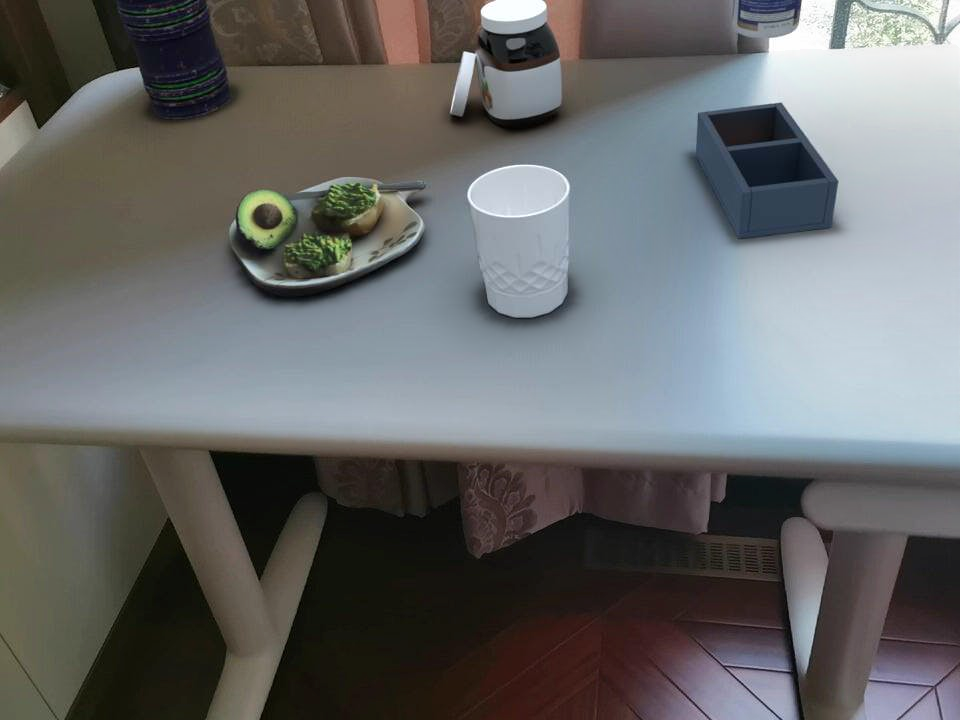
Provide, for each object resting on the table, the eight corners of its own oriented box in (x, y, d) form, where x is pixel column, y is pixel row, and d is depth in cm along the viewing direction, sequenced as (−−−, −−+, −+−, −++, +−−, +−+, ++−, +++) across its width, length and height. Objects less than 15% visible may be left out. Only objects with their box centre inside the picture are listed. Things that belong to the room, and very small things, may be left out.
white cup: (525, 257, 84) (516, 154, 78) (593, 289, 80) (591, 183, 73) (460, 299, 80) (446, 195, 74) (528, 336, 76) (519, 228, 69)
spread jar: (573, 121, 103) (569, 14, 95) (476, 149, 100) (464, 41, 93) (526, 82, 112) (519, -19, 104) (436, 107, 109) (422, 4, 102)
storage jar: (234, 110, 114) (189, -47, 102) (151, 126, 113) (96, -30, 101) (231, 78, 121) (190, -71, 110) (153, 92, 120) (103, -57, 109)
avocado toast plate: (394, 166, 99) (387, 125, 96) (473, 242, 87) (468, 198, 84) (214, 227, 93) (201, 185, 90) (272, 319, 81) (258, 274, 78)
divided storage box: (776, 145, 95) (781, 101, 92) (831, 227, 83) (839, 180, 80) (695, 155, 95) (697, 112, 92) (738, 239, 83) (742, 192, 80)
